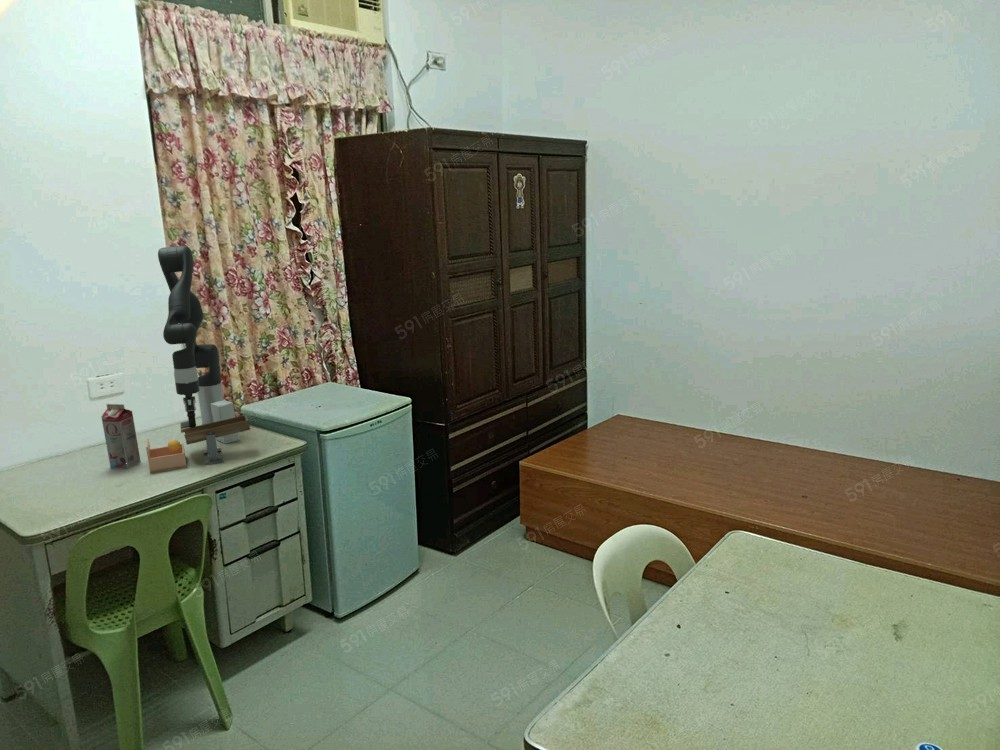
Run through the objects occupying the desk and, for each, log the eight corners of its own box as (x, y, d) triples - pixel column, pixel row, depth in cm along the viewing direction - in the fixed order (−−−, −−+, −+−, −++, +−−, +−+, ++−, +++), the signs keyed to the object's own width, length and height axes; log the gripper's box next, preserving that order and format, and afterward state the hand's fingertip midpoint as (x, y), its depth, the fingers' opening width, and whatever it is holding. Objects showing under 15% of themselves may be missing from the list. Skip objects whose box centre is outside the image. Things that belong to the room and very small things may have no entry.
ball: (165, 441, 242) (177, 436, 243) (171, 451, 243) (182, 446, 244) (165, 444, 238) (177, 439, 240) (171, 454, 240) (182, 449, 241)
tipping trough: (182, 431, 254) (179, 421, 253) (245, 417, 263) (243, 407, 262) (183, 446, 238) (181, 435, 237) (250, 429, 247) (248, 419, 246)
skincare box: (239, 440, 265) (234, 402, 262) (224, 444, 261) (218, 406, 257) (230, 435, 271) (225, 398, 267) (214, 439, 267) (209, 402, 263)
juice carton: (127, 468, 240) (116, 407, 234) (110, 468, 241) (99, 406, 236) (140, 461, 246) (130, 401, 241) (124, 461, 247) (113, 401, 242)
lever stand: (203, 452, 253) (199, 426, 250) (221, 450, 255) (217, 423, 253) (205, 465, 240) (201, 437, 238) (223, 461, 243) (220, 434, 240)
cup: (150, 462, 244) (146, 438, 242) (185, 457, 249) (182, 433, 247) (150, 473, 235) (146, 447, 232) (186, 467, 239) (182, 442, 237)
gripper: (174, 377, 252) (180, 420, 255) (175, 385, 239) (181, 430, 243) (197, 374, 255) (202, 417, 258) (198, 382, 242) (204, 427, 246)
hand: (192, 423), depth 250 cm, fingers open, 8 cm apart
